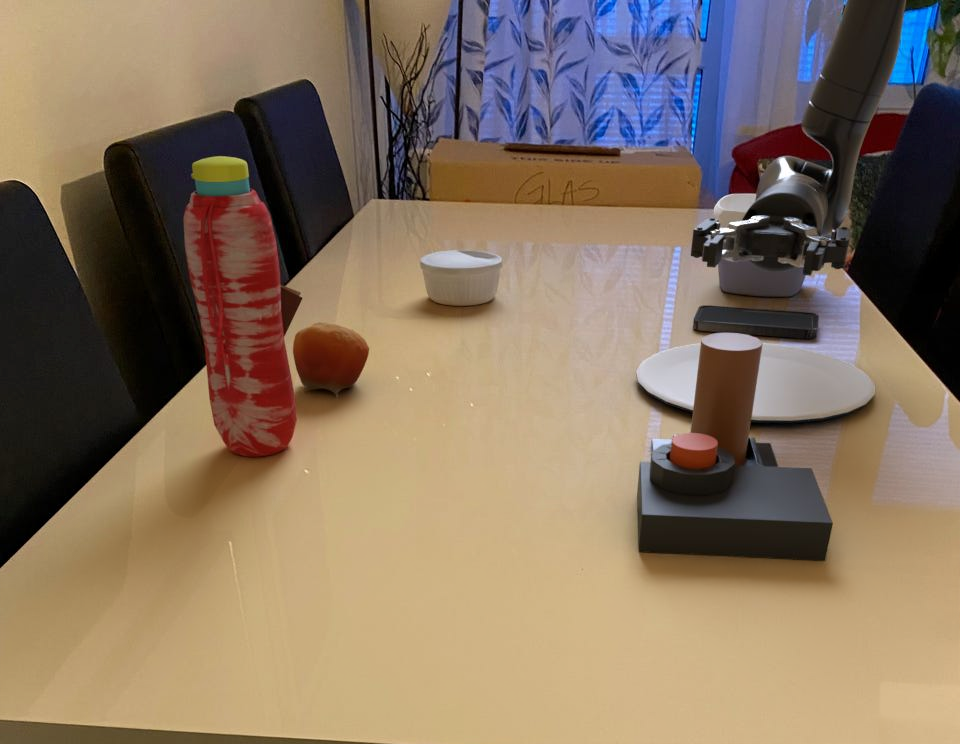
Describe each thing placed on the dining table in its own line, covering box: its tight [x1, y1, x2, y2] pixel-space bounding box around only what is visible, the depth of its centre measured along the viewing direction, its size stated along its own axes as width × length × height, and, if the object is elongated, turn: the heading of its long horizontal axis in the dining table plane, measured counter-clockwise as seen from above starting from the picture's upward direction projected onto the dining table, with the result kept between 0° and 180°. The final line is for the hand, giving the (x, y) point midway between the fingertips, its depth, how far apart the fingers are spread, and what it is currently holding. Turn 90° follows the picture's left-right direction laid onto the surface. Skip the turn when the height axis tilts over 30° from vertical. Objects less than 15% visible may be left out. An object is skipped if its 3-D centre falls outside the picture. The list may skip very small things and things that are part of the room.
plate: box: [635, 342, 876, 424], centre depth 106 cm, size 25×25×1 cm
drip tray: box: [650, 434, 779, 467], centre depth 88 cm, size 11×11×2 cm
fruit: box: [292, 322, 370, 399], centre depth 106 cm, size 8×8×8 cm
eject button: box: [670, 432, 718, 469], centre depth 78 cm, size 4×4×2 cm
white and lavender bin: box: [712, 193, 807, 298], centre depth 138 cm, size 15×15×11 cm
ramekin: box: [419, 249, 504, 307], centre depth 136 cm, size 11×11×5 cm
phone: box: [692, 304, 820, 340], centre depth 125 cm, size 8×1×15 cm
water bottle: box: [183, 155, 303, 458], centre depth 88 cm, size 12×8×25 cm, turn 161°
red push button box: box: [636, 443, 834, 562], centre depth 78 cm, size 10×14×5 cm
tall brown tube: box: [690, 332, 763, 466], centre depth 85 cm, size 5×5×11 cm
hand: (759, 259), depth 88 cm, fingers open, 8 cm apart
